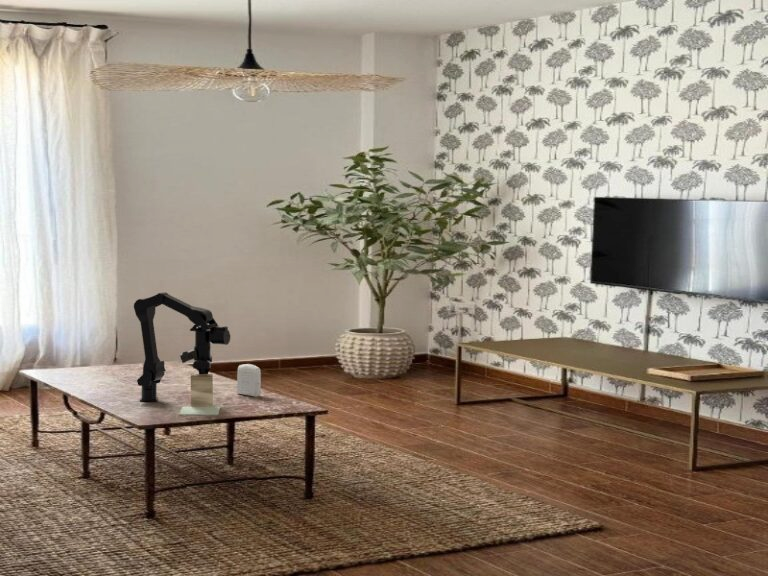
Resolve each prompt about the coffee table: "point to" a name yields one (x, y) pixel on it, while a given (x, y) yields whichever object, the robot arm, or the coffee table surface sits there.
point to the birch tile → (201, 390)
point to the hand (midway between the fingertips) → (202, 383)
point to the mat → (199, 411)
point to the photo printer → (249, 380)
